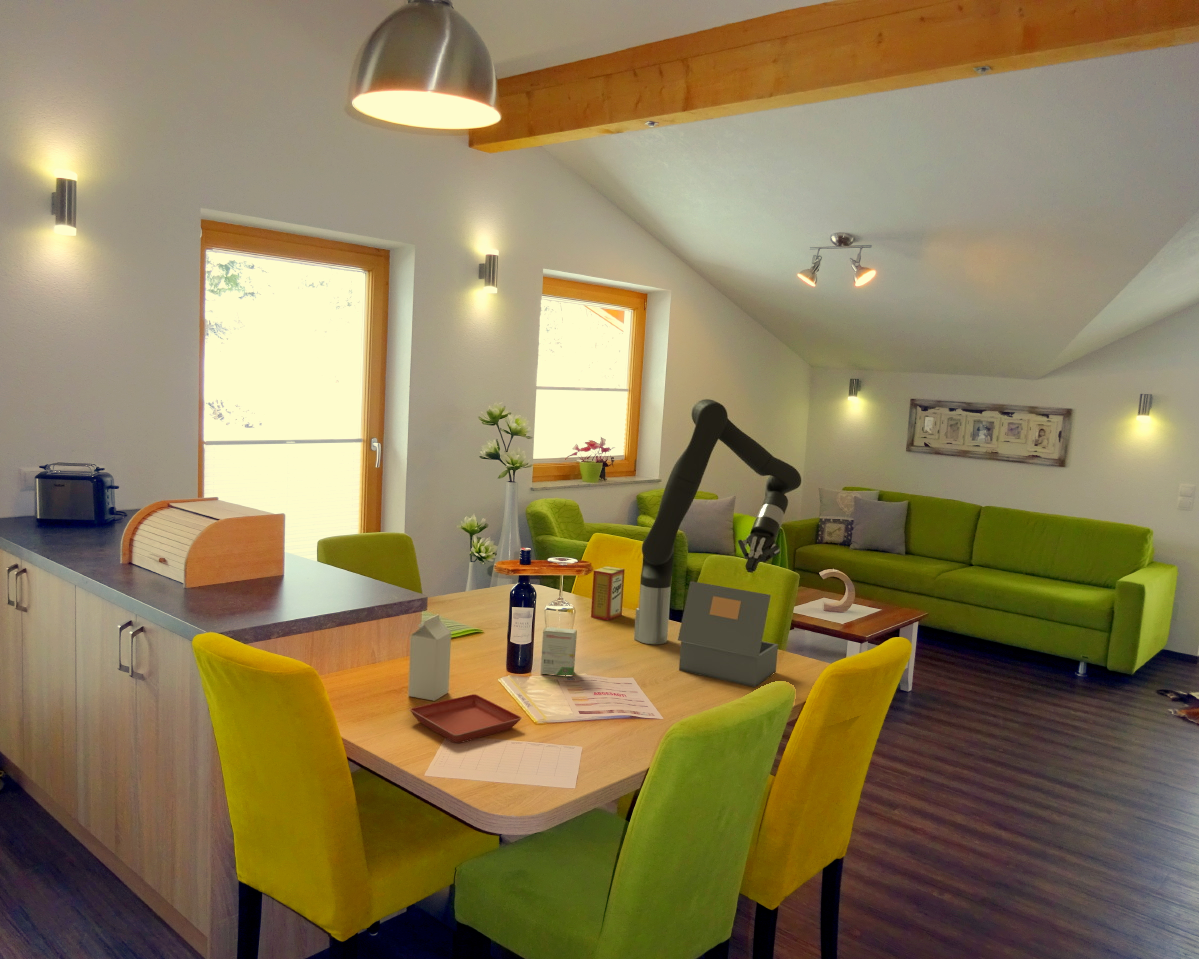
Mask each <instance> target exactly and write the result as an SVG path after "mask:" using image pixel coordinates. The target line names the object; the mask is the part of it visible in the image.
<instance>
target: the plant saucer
mask: <svg viewBox="0 0 1199 959" xmlns="http://www.w3.org/2000/svg"><path fill="white" fill-rule="evenodd" d="M409 711H410V712H411V714H412V716H414V718H415V719H416V720H417V721H418V722H419V723H420V724H422V725H423V726H425V727H427V728H428V729H431V731H434V732H435V733H437V734H439V735H441V736H443V737H444V738H446V739H447V738H448V739H447V740H449V739H450V740H449V741H451V742H452V741H453V742H452V743H454V742H455V744H460V742H461V743H464V742H463V741H465V742H468V741H471V740H470V739H472V740H475V738H476V739H479V738H482V737H487V736H490V735H493V734H497V733H501V732H505V731H509V730H510V729H512V728H513V727H515V726H516V725H517V724H518V723H519V722H520V721H521V720H522V716H520V715H519V714H516V713H515V712H513V711H510V710H508V709H506V708H505V707H502V706H500V705H498V704H496V703H495V702H493V701H491V700H489V699H487V698H484V697H483V696H480V695H479V694H476V693H475V694H474V693H473V694H469V695H463V696H459V697H456V698H451V699H446V700H442V701H437V702H433V703H429V704H428V703H427V704H423V705H419V706H416V707H412V708H410V710H409ZM467 740H468V741H467Z"/></svg>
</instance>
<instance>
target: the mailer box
mask: <svg viewBox="0 0 1199 959" xmlns="http://www.w3.org/2000/svg"><path fill="white" fill-rule="evenodd" d="M778 650H779V644H778V643H772V642H769V641H768V642H767V641H763V640H762V643H761V648H760V653H759V657H755V656H750V655H745V654H740V653H735V652H731V651H726V650H721V649H716V648H712V647H707V646H702V645H697V644H693V643H688V642H683V641H680V650H679V663H678V665H679V666H678V670H679V671H681V672H685V673H689V674H690V673H691V674H694V675H700V676H703V677H708V678H710V679H711V678H712V679H717V680H721V681H725V682H729V683H734V684H739V685H743V686H746V687H752V688H756V687H758V686H759V685H761V684H762V683H763V682H765V681H767V680H768V679H769V678H771V677H772V676H773V675H774V674H773V673H775V672H777V664H778V663H777V662H778V661H777V660H778ZM772 674H773V675H772ZM775 674H776V673H775ZM771 675H772V676H771ZM768 677H769V678H768ZM767 678H768V679H767Z"/></svg>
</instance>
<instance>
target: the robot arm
mask: <svg viewBox="0 0 1199 959" xmlns="http://www.w3.org/2000/svg"><path fill="white" fill-rule="evenodd" d="M728 417H729V415H728V410H727V409H726V407H725V406H724V405H723V404H722V403H720V402H717V401H716V400H713V399H709V398H705V399H704V398H703V399H701V400H699V401H697V402H696V403H695V404H694V405H693V407H692V409H691V419H692V422H693V424H694V425H695V426H694V430H693V432H692V436H691V438H690V441H689V443H688V445H687V447H686V449H685V450H684V451H683V452H682V454H681V455H680V457H679V458H678V459H677V460H676V462H675V464H673V465H674V466H673V467H672V470H671V472H670V474H669V476H668V479H667V481H666V484H665V487H664V491H663V494H662V496H661V500H660V504H659V507H658V511H657V514H656V517H655V519H654V521H653V524H652V526H651V528H650V530H649V532H648V533H647V535H646V537H645V539H643V542H642V544H641V545H642V546H641V553H642V566H641V572H640V573H641V574H640V584H639V600H638V607H637V608H636V609H635V619H634V633H633V634H634V636H633V639H634V640H635V641H637V642H638V643H639V642H640V643H642V644H647V645H663V644H666V643H667V642H668V636H669V635H668V633H669V620H670V602H671V591H672V590H671V589H672V588H671V586H672V579H673V578H672V577H673V569H674V568H673V566H674V556H675V555H674V554H675V540H676V538H677V534H678V532H679V528H680V526H681V524H682V522H683V520H684V518H685V517H686V515H687V513H688V512H689V510H690V507H691V506H692V504H693V502H694V500H695V498H696V496H697V492H698V490H699V487H700V485H701V483H702V480H703V477H704V474H705V471H706V469H707V467H708V463H709V462H710V458H711V456H712V453H713V451H714V449H715V446H716V444H717V443H718V441H720V442H722V444H724V445H726V446H727V447H728V448H729V450H731V451H732V453H734V454H735V455H736V456H737V457H738V458H739V459H741V461H742V462H743V463H744V464H746V465H747V466H748V467H749V468H750V469H751V470H752V471H754V473H756V474H757V475H759V476H760V477H761V476H762V477H764V476H765V477H766V476H769V477H768V479H767V480H766V484H765V490H764V491H765V494H764V500H763V501H762V504H761V506H760V508H759V509H758V510H759V511H758V512H757V515H756V517H755V520H754V522H753V525H752V527H751V529H750V533H749V534H748V535H747V537H746V539H743V540H742V539H738V540H737V542H738V546H739V548H740V551H741V553H742V555H743V557H744V559H745V560H746V564H745V569H746V571H747V573H751V574H753V573H754V572H756V570H757V568H758V566H759V564H760V563H761V562H762V563H766V562H768V561H769V560H771V559H772V558H775V557H776V556H778V555H779V554H780V553H781V550H780V546H779V544H776V539H777V537H778V535H779V532H780V529H781V527H782V525H783V521H784V516H785V513H786V511H787V509H788V505H789V498H788V496H786V494H787V493H790V492H792V491H794V490H797V489H799V487H801V484H802V476H801V474H800V472H799V471H798V470H797V468H795V467H794V466H792V465H790V464H789V463H787V462H785V461H783V460H781V459H780V458H778V457H775V456H774V455H772V454H771V453H770V452H769V451H768V450H767V449H765V448H764V446H762V445H761V444H760V443H759V442H757V441H756V440H755V439H753V438H752V437H750V436H749V435H748V434H746V433H745V432H743V431H742V430H741V429H740V428H738V426H737V425H735V424H734V423H733V422H732V421H731V420H730V418H728ZM747 547H749V552H748V550H747V549H746V548H747Z"/></svg>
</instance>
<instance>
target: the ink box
mask: <svg viewBox="0 0 1199 959" xmlns="http://www.w3.org/2000/svg"><path fill="white" fill-rule="evenodd" d="M577 635H578V629H572V628H563V627H552V626H546V627H545V628H544V629H543V631H542V642H541V643H542V644H541V657H540V659H541V662H540V675H541V674H554V675H565V676H566V675H573V676H574V673H575V662H576V651H577V650H576V649H577Z"/></svg>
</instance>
